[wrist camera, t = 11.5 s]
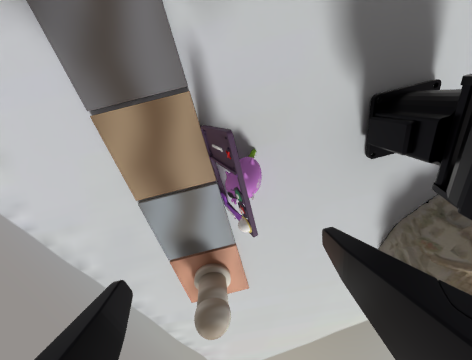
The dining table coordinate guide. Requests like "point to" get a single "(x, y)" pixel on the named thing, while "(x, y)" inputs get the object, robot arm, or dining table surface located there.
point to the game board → (146, 124)
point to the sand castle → (435, 243)
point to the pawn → (212, 301)
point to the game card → (234, 174)
